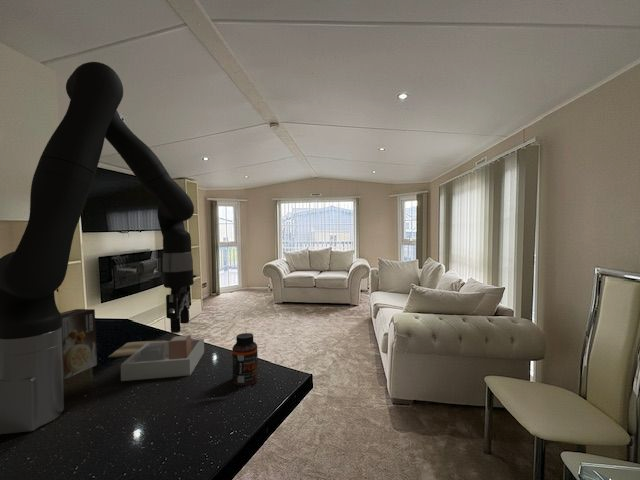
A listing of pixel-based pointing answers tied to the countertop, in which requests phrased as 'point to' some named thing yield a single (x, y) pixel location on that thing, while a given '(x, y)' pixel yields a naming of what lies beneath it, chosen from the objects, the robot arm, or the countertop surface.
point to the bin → (161, 363)
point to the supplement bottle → (245, 360)
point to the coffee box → (78, 341)
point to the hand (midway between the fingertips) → (180, 327)
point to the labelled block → (179, 347)
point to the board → (130, 348)
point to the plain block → (153, 353)
